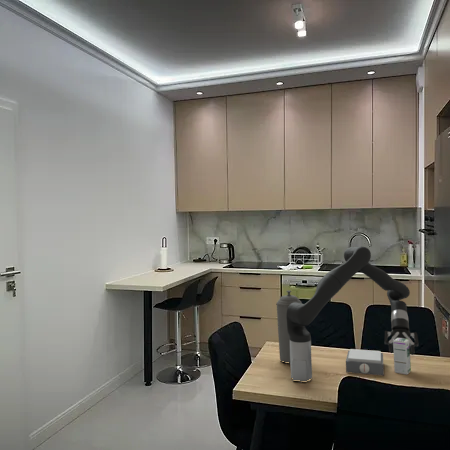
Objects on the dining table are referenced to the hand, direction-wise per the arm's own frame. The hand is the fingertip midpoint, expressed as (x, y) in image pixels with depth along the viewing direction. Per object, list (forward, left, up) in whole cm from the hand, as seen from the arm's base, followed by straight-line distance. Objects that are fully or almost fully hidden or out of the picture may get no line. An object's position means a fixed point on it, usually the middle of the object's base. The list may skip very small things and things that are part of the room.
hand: (401, 353), depth 189 cm
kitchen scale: (+2, +16, -9) cm, 18 cm away
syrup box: (+1, 0, -9) cm, 9 cm away
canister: (+3, +51, -9) cm, 52 cm away
